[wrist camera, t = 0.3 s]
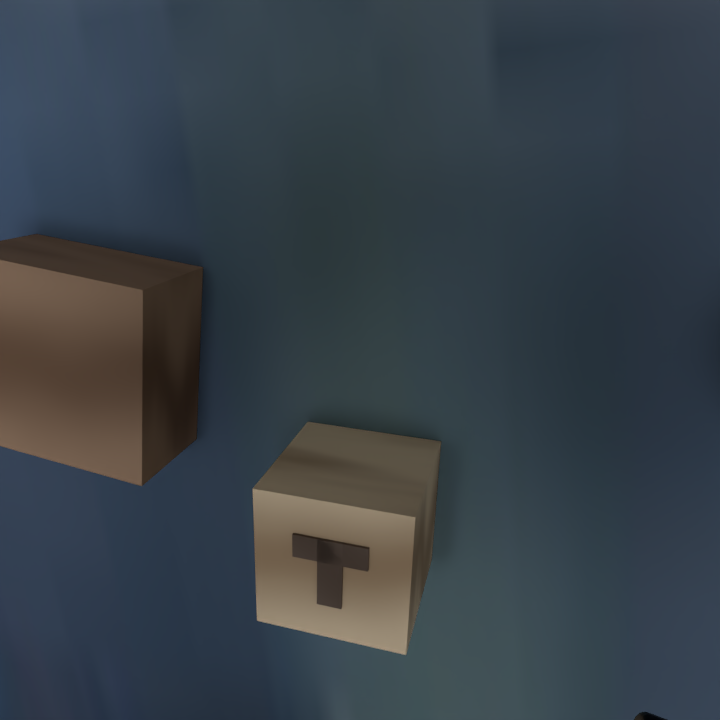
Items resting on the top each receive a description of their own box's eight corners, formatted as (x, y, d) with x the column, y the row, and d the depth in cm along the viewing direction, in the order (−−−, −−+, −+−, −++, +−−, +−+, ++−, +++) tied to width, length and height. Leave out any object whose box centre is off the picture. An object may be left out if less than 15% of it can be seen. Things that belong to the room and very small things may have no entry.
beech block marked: (432, 557, 24) (405, 657, 20) (308, 534, 26) (256, 622, 21) (441, 440, 23) (414, 519, 18) (308, 421, 24) (251, 490, 19)
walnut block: (199, 436, 26) (141, 486, 22) (50, 397, 27) (-28, 438, 23) (206, 265, 23) (142, 290, 20) (41, 233, 25) (-47, 249, 21)
